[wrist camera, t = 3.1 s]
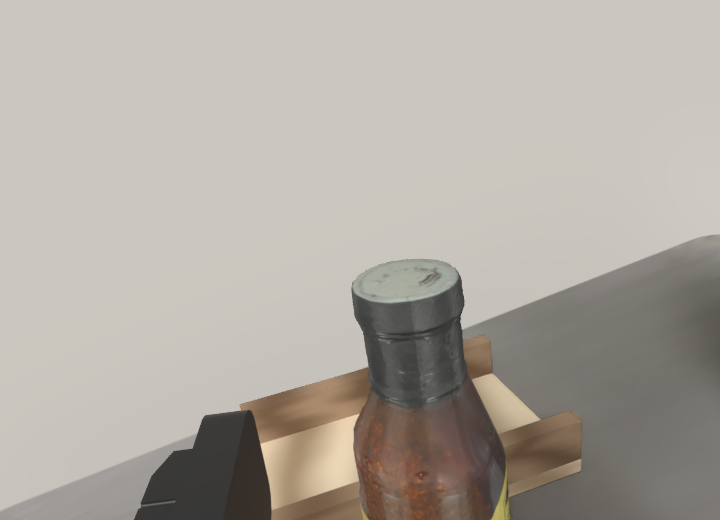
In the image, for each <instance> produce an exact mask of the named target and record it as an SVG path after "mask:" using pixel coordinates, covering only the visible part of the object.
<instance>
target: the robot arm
mask: <svg viewBox="0 0 720 520" xmlns="http://www.w3.org/2000/svg"><path fill="white" fill-rule="evenodd" d="M271 515H272V507H271V492H270V485H269V480H268V475H267V471H266V467H265V462H264V458H263V453H262V449H261V444H260V440H259V436H258V431H257V427H256V422H255V419H254V416H253V413H252V411H251V410H243V411H235V412H228V413H220V414H213V415H206V416H204V418H203V419H202V422H201V425H200V428H199V431H198V434H197V437H196V440H195V443H194V446H193V449H187V450H180V451H174V452H173V453H172V454H171V455H170V456H169V457H168V458H167V459H166V461H165V462H164V463H163V464H162V465H161V466H160V467H159V468H158V469H157V471H156V472H155V473H154V474H153V475H152V476H151V479H150V481H149V484H148V486H147V489H146V491H145V494H144V496H143V499H142V501H141V509H138V511H137V514H136V516H135V519H134V520H271Z"/></svg>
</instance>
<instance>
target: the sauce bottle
mask: <svg viewBox="0 0 720 520" xmlns="http://www.w3.org/2000/svg"><path fill="white" fill-rule="evenodd" d="M352 299H353V306H354V315H355V318H356V320H357V321H358V323H359V325H360V327H361V329H362V331H363V335H364V340H365V348H366V354H367V357H368V365H369V371H368V381H369V385H370V389H369V393H368V398H367V401H366V403H365V405H364V406H363V407H362V410H361V412H360V414H359V416H358V418H357V420H356V423H355V426H354V429H353V430H354V442H353V449H354V457H355V463H356V468H357V474H358V478H359V483H360V490H359V497H360V505H361V510H362V515H363V520H511V516H510V508H509V490H508V479H507V467H506V456H505V451H504V447H503V444H502V441H501V439H500V437H499V435H498V433H497V431H496V429H495V426H494V424H493V422H492V420H491V418H490V416H489V414H488V412H487V410H486V408H485V406H484V404H483V402H482V400H481V398H480V396H479V394H478V392H477V390H476V387H475V385H474V383H473V381H472V379H471V377H470V375H469V373H468V371H467V363H466V360H465V359H464V351H463V339H462V329H461V323H460V319H461V318H460V316H461V313H462V310H463V307H464V296H463V290H462V280H461V277H460V275H459V273H458V271H457V270H456V269H455V268H454V267H452V266H451V265H450V264H448V263H446V262H443V261H438V260H429V259H409V260H408V259H406V260H400V261H391V262H387V263H384V264H380V265H378V266H375V267H373V268H370V269H368V270H366V271H365V272H363V273H362V274H360V275H359V276H358V277H357V278H356V280H355V281H353V283H352Z"/></svg>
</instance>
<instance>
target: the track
mask: <svg viewBox="0 0 720 520" xmlns="http://www.w3.org/2000/svg"><path fill="white" fill-rule="evenodd" d="M463 351H464V359H465V360H466V363H467V371H468V373H469V375H470V377H471V379H472V381H473V383H474V385H475V387H476V390H477V392H478V394H479V396H480V398H481V400H482V402H483V404H484V406H485V408H486V410H487V412H488V414H489V416H490V418H491V420H492V422H493V424H494V426H495V429H496V431H497V433H498V435H499V437H500V439H501V441H502V444H503V447H504V451H505V456H506V467H507V479H508V490H509V497H511V496H514V495H517V494H520V493H522V492H525V491H528V490H531V489H533V488H536V487H539V486H541V485H544V484H547V483H550V482H552V481H555V480H558V479H560V478H563V477H566V476H569V475H571V474H574V473H577V472H579V471H581V446H582V420H581V419H580V418H578V417H577V416H576V415H575V414H574V413H573V412H572V411H570V410H569V411H566V412H563V413H560V414H557V415H554V416H551V417H548V418H545V419H542V420H540V419H539V418H538V417H537V416H536V415H535V414H534V413H533V412H532V411H531V410H530V409H529V408H528V407H527V406H526V405H525V404H524V403H523V402H522V401H521V400H520V399H519V398H517V397H516V396H515V395H514V394H513V393H512V392H511V391H510V390H509V389H508V388H507V387H506V386H505V385H504V384H503V383H502V382H501V381H500V380H499V379H498V378H497V377H496V376H495V375H494V374H493V373H492V359H491V341H490V340H489V339H488V338H486V337H485V336H484V335H480V336H477V337H473V338H470V339H466V340H463ZM368 371H369V368H365V369H362V370H358V371H355V372H351V373H348V374H344V375H341V376H337V377H334V378H330V379H327V380H323V381H320V382H316V383H313V384H309V385H306V386H302V387H299V388H295V389H292V390H288V391H285V392H281V393H278V394H274V395H271V396H267V397H264V398H260V399H257V400H254V401H250V402H246V403H243V404H240V408H241V411H243V410H251V411H252V413H253V416H254V419H255V422H256V427H257V431H258V436H259V440H260V444H261V449H262V453H263V458H264V462H265V467H266V471H267V475H268V480H269V485H270V492H271V507H272V515H271V520H363V515H362V510H361V505H360V497H359V490H360V483H359V478H358V474H357V468H356V463H355V457H354V449H353V442H354V430H353V429H354V426H355V423H356V420H357V418H358V416H359V414H360V412H361V410H362V407H363V406H364V405H365V403H366V401H367V398H368V393H369V389H370V385H369V381H368Z"/></svg>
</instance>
